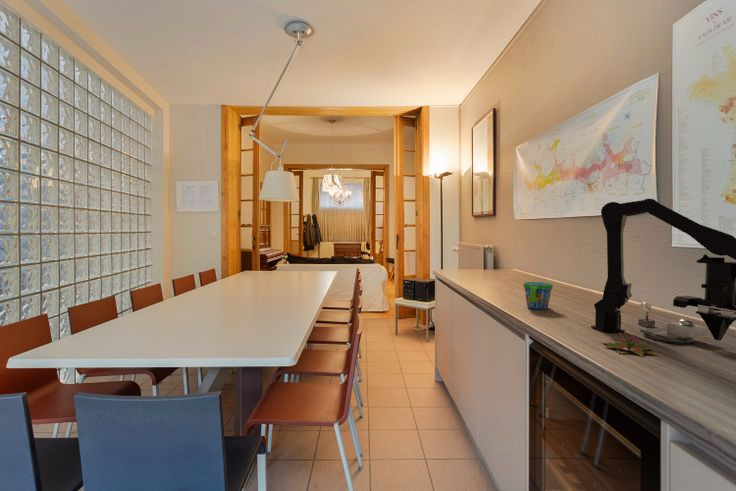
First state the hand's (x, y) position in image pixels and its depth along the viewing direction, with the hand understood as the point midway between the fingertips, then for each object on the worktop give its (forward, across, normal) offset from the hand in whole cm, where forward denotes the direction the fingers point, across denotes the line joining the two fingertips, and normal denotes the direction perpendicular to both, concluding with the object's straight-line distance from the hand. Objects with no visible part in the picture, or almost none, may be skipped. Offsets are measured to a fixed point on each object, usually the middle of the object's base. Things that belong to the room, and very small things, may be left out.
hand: (717, 340), depth 91 cm
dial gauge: (+2, +22, -4) cm, 22 cm away
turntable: (+2, +10, +4) cm, 11 cm away
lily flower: (+3, +5, +24) cm, 24 cm away
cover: (0, +7, 0) cm, 7 cm away
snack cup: (+3, +53, +12) cm, 54 cm away
